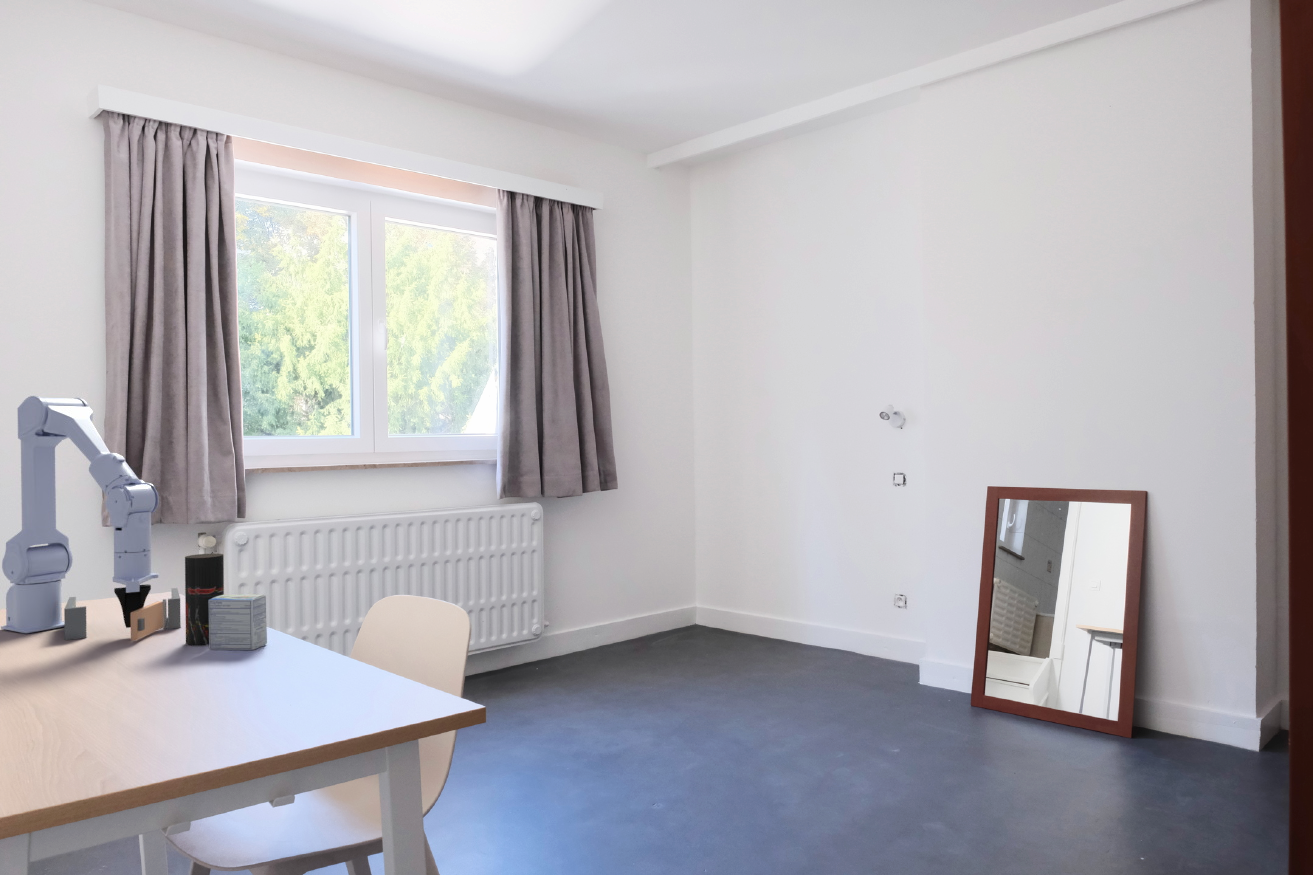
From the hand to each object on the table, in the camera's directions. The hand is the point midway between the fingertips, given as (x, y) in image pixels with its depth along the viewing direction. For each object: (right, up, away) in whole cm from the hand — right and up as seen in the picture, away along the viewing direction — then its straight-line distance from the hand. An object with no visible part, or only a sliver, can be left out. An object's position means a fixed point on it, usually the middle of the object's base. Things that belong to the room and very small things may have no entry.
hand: (132, 626), depth 155 cm
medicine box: (+23, -2, -9) cm, 25 cm away
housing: (-7, -2, +9) cm, 11 cm away
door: (+3, -1, 0) cm, 3 cm away
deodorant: (+16, -2, -5) cm, 16 cm away
